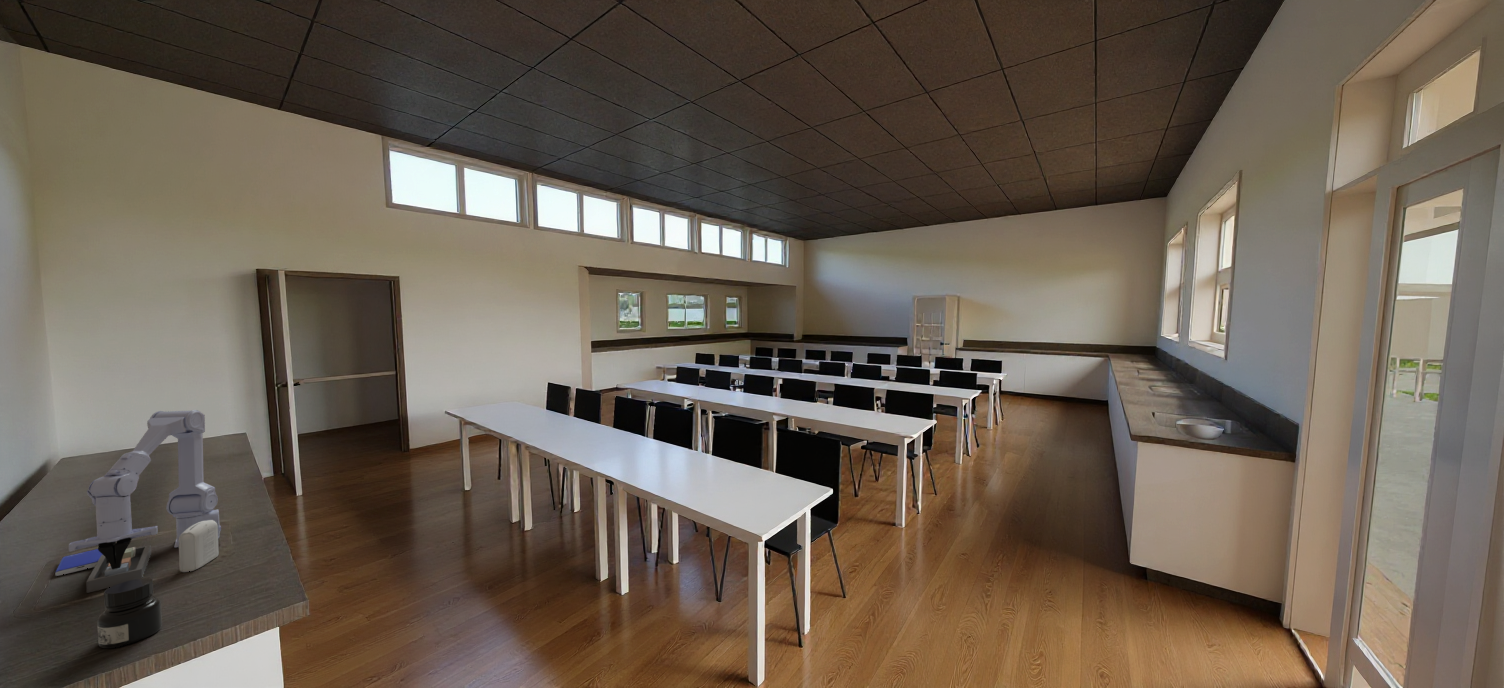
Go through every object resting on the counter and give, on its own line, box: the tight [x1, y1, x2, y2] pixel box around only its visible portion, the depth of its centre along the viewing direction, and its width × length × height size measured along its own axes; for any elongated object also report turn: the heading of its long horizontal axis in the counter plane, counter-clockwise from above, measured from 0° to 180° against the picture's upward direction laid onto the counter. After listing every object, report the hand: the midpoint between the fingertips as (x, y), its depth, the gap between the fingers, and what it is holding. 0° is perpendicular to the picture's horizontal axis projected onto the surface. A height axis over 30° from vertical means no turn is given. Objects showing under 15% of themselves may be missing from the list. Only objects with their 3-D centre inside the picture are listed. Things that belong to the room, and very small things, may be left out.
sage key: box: [122, 547, 133, 559], centre depth 138 cm, size 4×4×3 cm
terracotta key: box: [108, 557, 131, 568], centre depth 134 cm, size 4×4×3 cm
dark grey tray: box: [85, 544, 152, 594], centre depth 136 cm, size 9×21×3 cm, turn 47°
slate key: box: [105, 563, 129, 576], centre depth 131 cm, size 4×4×3 cm
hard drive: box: [54, 548, 103, 577], centre depth 140 cm, size 2×8×12 cm
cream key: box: [127, 546, 136, 558], centre depth 141 cm, size 4×4×3 cm
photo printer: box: [178, 520, 220, 573], centre depth 141 cm, size 10×4×12 cm, turn 20°
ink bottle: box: [96, 577, 163, 649], centre depth 109 cm, size 10×9×12 cm
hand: (116, 567), depth 131 cm, fingers closed, pressing on slate key
